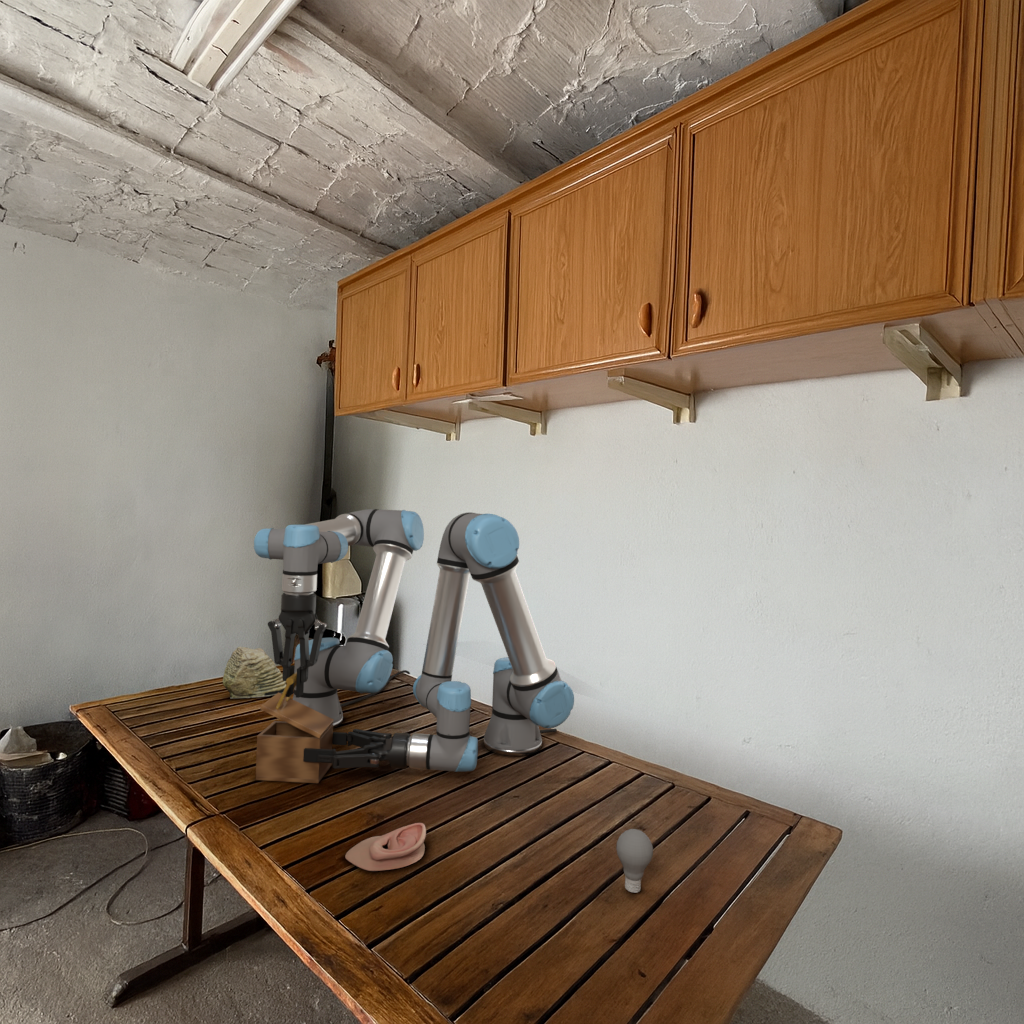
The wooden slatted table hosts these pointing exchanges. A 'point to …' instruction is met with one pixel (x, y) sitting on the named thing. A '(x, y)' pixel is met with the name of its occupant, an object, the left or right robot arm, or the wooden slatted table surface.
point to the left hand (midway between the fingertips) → (294, 695)
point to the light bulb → (634, 857)
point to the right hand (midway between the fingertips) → (312, 745)
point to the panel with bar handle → (297, 712)
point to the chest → (290, 754)
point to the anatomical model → (390, 849)
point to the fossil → (252, 674)
